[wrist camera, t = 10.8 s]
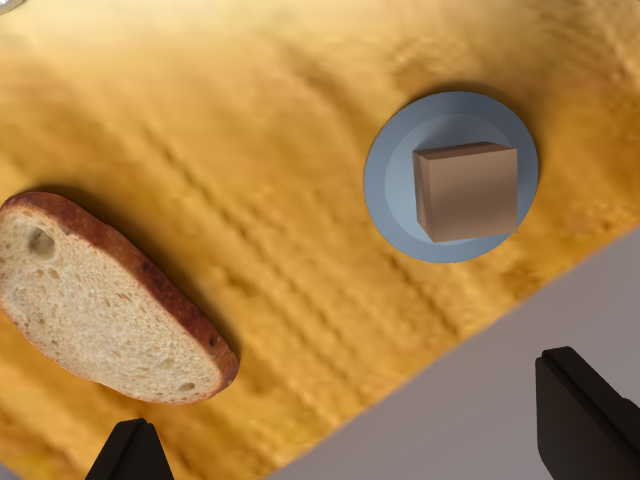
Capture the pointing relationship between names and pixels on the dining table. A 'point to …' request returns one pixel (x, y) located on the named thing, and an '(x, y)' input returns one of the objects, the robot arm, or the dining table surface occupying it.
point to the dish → (433, 132)
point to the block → (466, 190)
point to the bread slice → (104, 305)
